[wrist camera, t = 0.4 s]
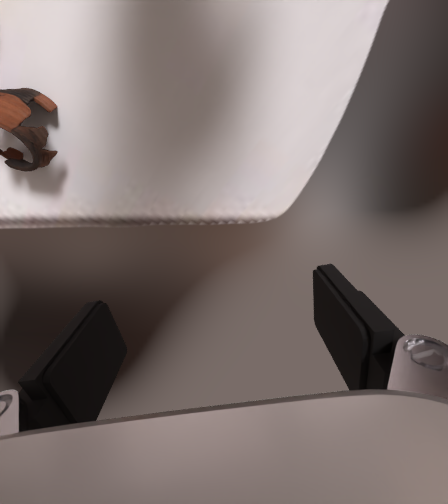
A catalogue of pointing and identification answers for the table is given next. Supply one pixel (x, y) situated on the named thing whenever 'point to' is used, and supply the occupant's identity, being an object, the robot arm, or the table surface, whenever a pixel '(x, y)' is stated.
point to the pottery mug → (10, 118)
